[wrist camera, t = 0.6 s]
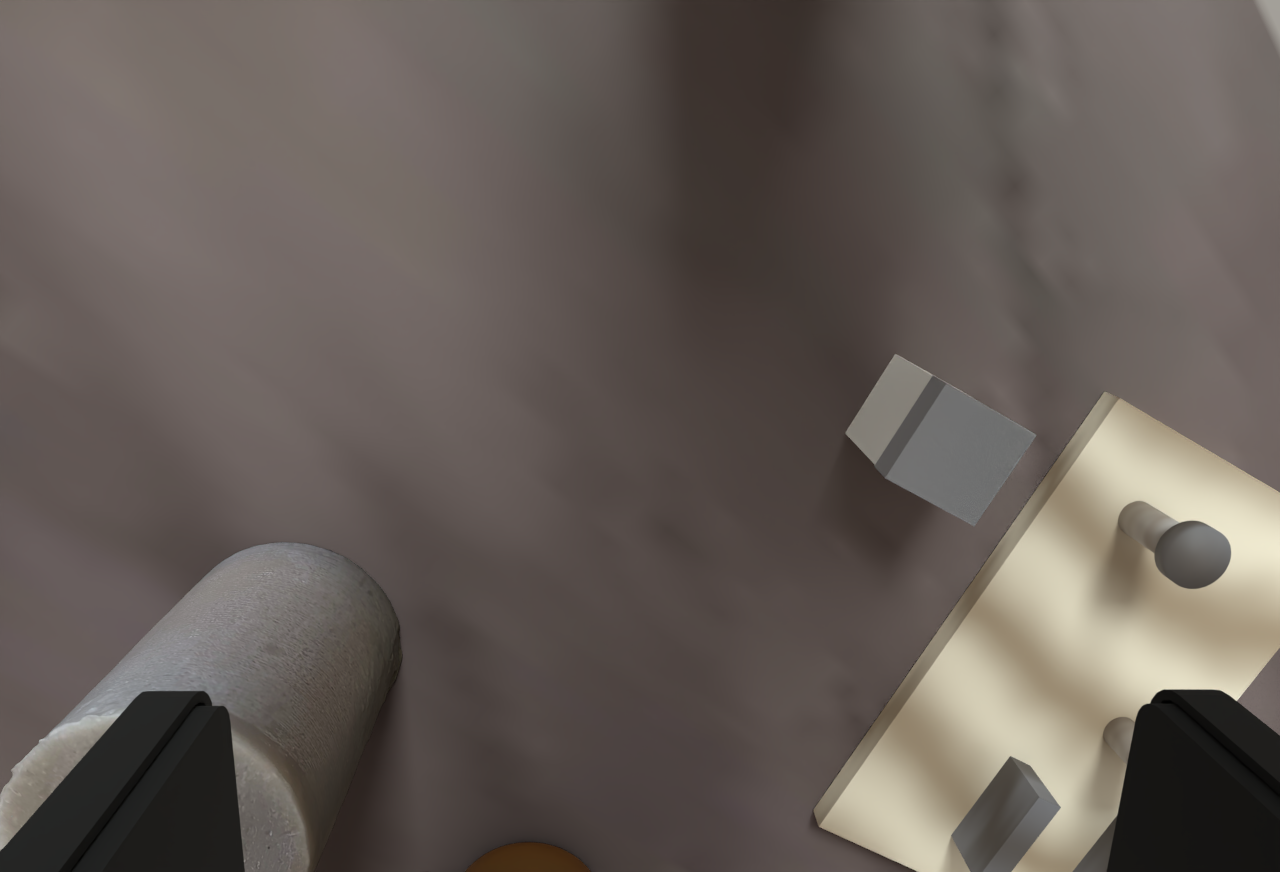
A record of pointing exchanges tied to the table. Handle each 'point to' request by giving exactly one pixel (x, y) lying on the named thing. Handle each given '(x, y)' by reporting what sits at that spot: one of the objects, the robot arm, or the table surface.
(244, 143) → the table surface
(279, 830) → the pillar candle
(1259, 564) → the board
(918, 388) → the grey rectangular block
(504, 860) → the mug
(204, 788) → the robot arm
